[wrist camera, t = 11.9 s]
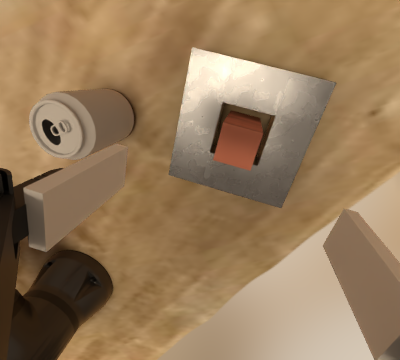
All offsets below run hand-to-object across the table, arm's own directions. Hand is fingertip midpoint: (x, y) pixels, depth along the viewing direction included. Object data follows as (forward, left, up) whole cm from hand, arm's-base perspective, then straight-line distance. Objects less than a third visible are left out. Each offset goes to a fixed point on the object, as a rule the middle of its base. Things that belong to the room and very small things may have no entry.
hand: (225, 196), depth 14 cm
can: (-3, +19, -21) cm, 28 cm away
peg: (0, 0, -21) cm, 21 cm away
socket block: (0, 0, -21) cm, 21 cm away
